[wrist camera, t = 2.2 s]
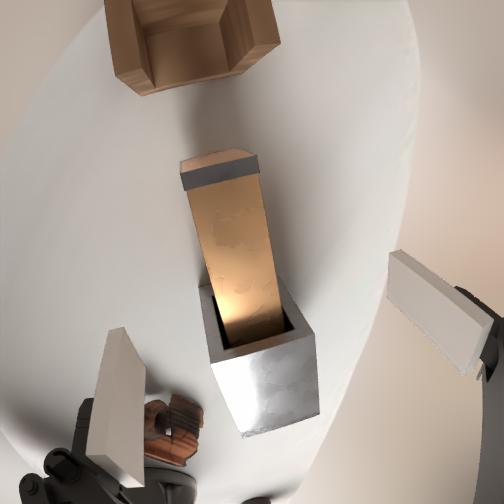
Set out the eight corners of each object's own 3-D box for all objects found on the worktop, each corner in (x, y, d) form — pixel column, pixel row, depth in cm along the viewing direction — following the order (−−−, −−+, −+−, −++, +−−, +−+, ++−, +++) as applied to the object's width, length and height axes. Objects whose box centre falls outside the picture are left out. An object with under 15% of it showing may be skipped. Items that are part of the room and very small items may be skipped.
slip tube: (237, 363, 30) (250, 409, 24) (180, 161, 21) (179, 173, 16) (277, 352, 30) (296, 395, 25) (236, 147, 22) (256, 155, 16)
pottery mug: (217, 419, 37) (203, 473, 31) (157, 406, 39) (141, 455, 33) (185, 385, 29) (163, 457, 23) (115, 370, 31) (90, 430, 26)
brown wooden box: (141, 96, 20) (115, 76, 11) (130, 36, 18) (102, -14, 9) (241, 74, 21) (280, 43, 12) (229, 15, 19) (259, -41, 10)
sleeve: (224, 362, 32) (242, 438, 23) (198, 287, 28) (211, 364, 19) (285, 344, 33) (319, 414, 24) (272, 267, 29) (314, 333, 19)
